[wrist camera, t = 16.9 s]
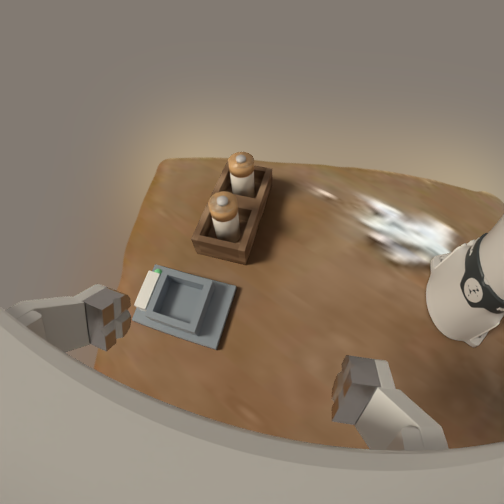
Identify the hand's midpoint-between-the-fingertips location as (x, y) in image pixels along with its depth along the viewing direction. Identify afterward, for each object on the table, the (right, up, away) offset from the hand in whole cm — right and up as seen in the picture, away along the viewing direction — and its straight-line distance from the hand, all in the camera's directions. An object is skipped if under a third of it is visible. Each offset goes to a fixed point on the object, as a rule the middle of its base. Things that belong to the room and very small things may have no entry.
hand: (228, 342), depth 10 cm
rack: (-2, +9, +41) cm, 42 cm away
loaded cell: (-1, +14, +42) cm, 44 cm away
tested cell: (-3, +6, +38) cm, 39 cm away
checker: (-10, -5, +33) cm, 35 cm away
